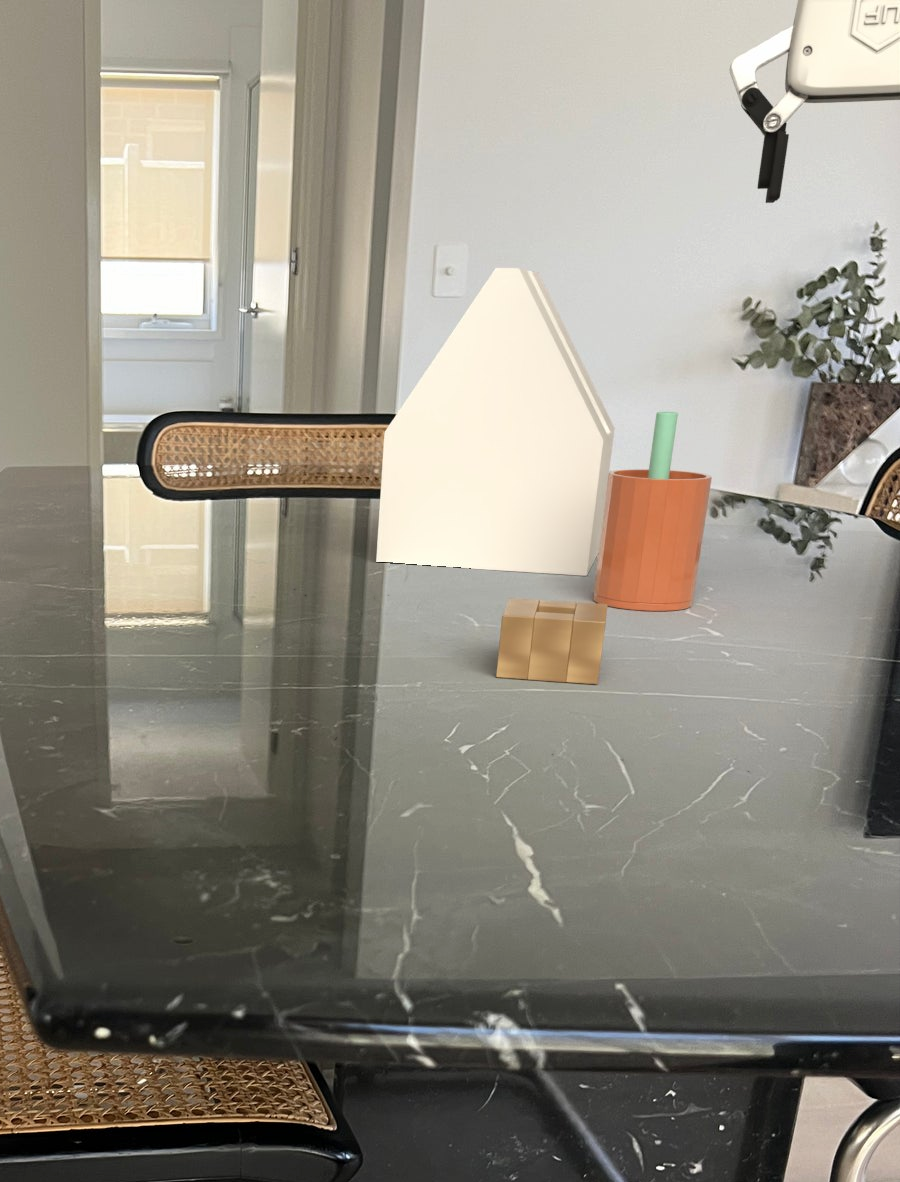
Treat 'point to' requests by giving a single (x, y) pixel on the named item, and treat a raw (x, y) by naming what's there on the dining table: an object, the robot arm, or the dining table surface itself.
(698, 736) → the dining table surface
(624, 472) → the cup
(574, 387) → the white house shaped block
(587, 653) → the straw holder
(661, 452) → the straw
